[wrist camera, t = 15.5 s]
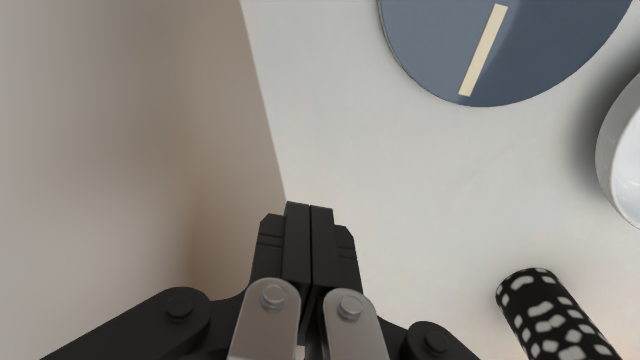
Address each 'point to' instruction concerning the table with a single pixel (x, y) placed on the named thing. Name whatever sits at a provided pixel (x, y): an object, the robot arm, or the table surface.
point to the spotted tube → (550, 319)
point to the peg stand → (496, 44)
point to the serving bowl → (621, 154)
